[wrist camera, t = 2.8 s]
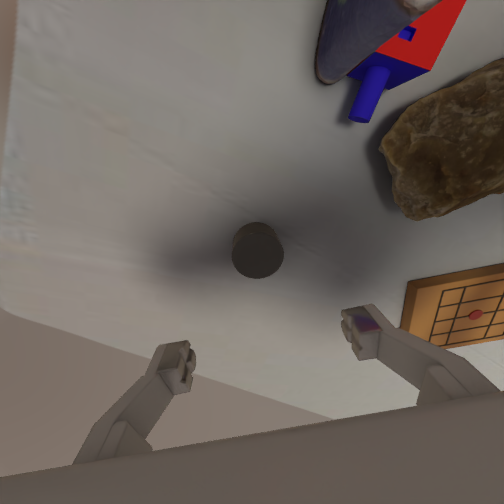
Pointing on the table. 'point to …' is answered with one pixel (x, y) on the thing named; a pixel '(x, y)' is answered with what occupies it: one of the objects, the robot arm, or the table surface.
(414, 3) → the flask
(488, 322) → the board
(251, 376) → the table surface
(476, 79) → the stone
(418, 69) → the toy building block
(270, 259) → the metal cylinder
